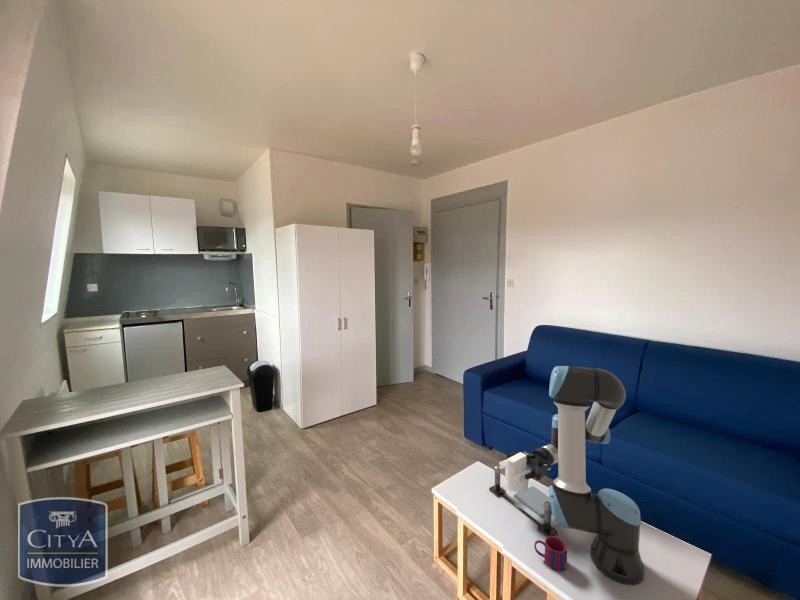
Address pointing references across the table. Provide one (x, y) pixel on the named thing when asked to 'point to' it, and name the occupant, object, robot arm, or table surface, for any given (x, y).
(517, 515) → the table surface
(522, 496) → the slate mat
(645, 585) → the table surface
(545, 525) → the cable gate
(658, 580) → the table surface
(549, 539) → the mug
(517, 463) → the base with upright slab
